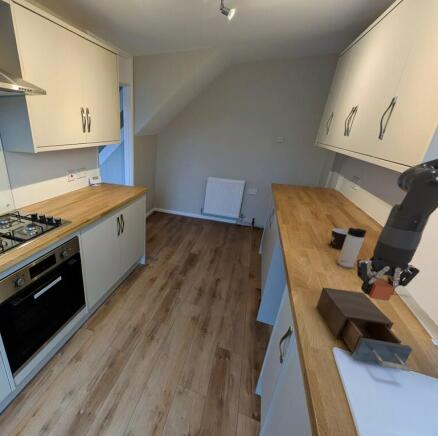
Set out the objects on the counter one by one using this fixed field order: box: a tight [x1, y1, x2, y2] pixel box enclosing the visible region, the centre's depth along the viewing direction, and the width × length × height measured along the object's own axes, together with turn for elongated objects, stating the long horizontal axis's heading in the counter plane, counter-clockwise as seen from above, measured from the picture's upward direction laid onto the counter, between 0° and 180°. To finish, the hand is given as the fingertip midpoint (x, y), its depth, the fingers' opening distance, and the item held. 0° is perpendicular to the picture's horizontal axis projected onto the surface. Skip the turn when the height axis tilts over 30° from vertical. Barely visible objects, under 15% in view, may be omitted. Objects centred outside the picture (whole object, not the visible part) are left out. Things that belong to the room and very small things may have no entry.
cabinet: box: [316, 286, 394, 341], centre depth 79 cm, size 15×13×9 cm
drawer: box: [341, 319, 413, 372], centre depth 69 cm, size 18×11×7 cm, turn 167°
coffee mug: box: [329, 227, 348, 251], centre depth 133 cm, size 12×9×10 cm
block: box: [366, 278, 395, 302], centre depth 69 cm, size 4×4×4 cm
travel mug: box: [336, 227, 367, 270], centre depth 114 cm, size 6×7×20 cm
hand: (375, 293), depth 70 cm, fingers closed on block, 4 cm apart
